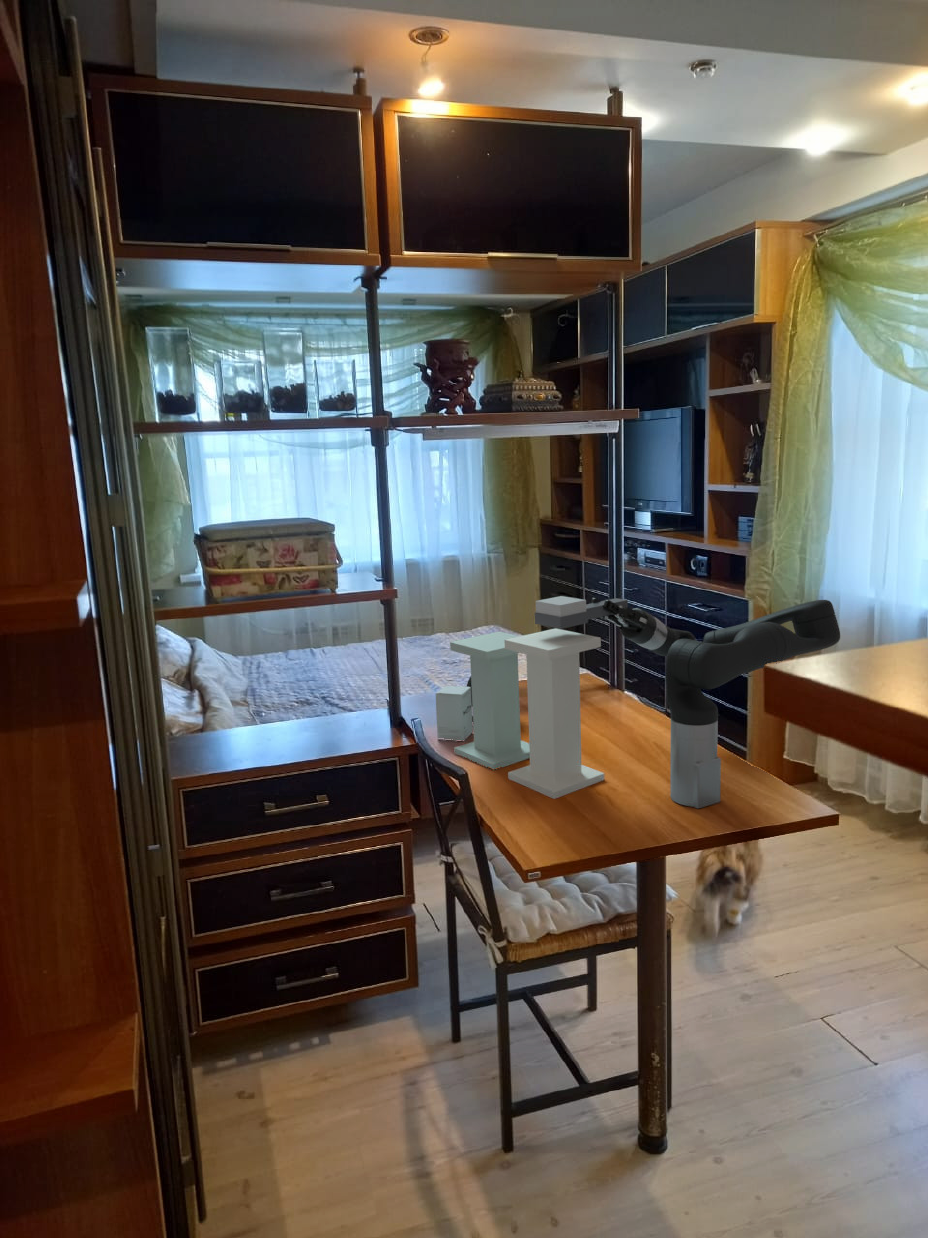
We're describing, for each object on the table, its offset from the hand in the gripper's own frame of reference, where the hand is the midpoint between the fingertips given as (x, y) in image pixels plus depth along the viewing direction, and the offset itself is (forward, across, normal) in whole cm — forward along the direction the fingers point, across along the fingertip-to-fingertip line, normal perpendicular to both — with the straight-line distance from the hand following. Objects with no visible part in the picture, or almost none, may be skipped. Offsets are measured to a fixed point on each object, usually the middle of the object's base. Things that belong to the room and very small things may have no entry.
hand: (598, 603), depth 189 cm
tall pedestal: (-6, 0, +40) cm, 40 cm away
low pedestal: (-7, -21, +39) cm, 45 cm away
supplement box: (-7, -38, +40) cm, 56 cm away
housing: (+2, 0, +4) cm, 5 cm away
